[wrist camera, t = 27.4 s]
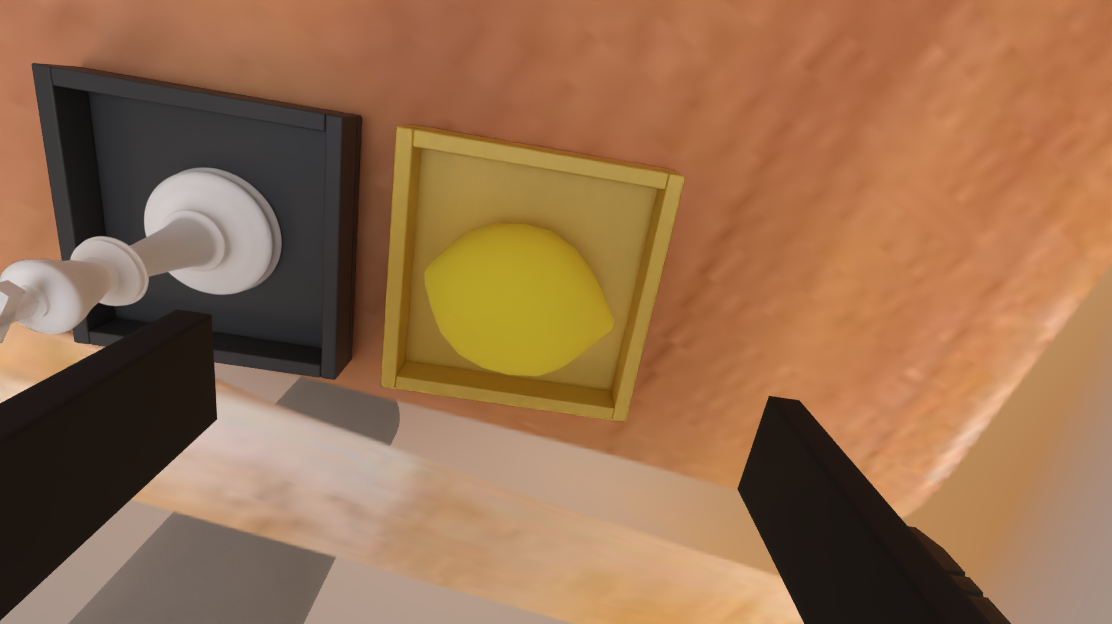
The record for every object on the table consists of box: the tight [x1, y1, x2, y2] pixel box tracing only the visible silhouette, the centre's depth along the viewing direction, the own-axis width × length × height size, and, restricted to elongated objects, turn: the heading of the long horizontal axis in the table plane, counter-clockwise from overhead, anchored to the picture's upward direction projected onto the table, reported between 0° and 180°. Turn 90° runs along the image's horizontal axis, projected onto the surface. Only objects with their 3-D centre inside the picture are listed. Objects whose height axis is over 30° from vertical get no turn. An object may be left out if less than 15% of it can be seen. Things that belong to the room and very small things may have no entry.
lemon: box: [424, 223, 614, 376], centre depth 20 cm, size 7×5×5 cm
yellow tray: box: [381, 124, 685, 422], centre depth 22 cm, size 10×10×2 cm
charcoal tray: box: [32, 63, 362, 380], centre depth 21 cm, size 10×10×2 cm
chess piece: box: [0, 167, 282, 343], centre depth 17 cm, size 5×5×10 cm
